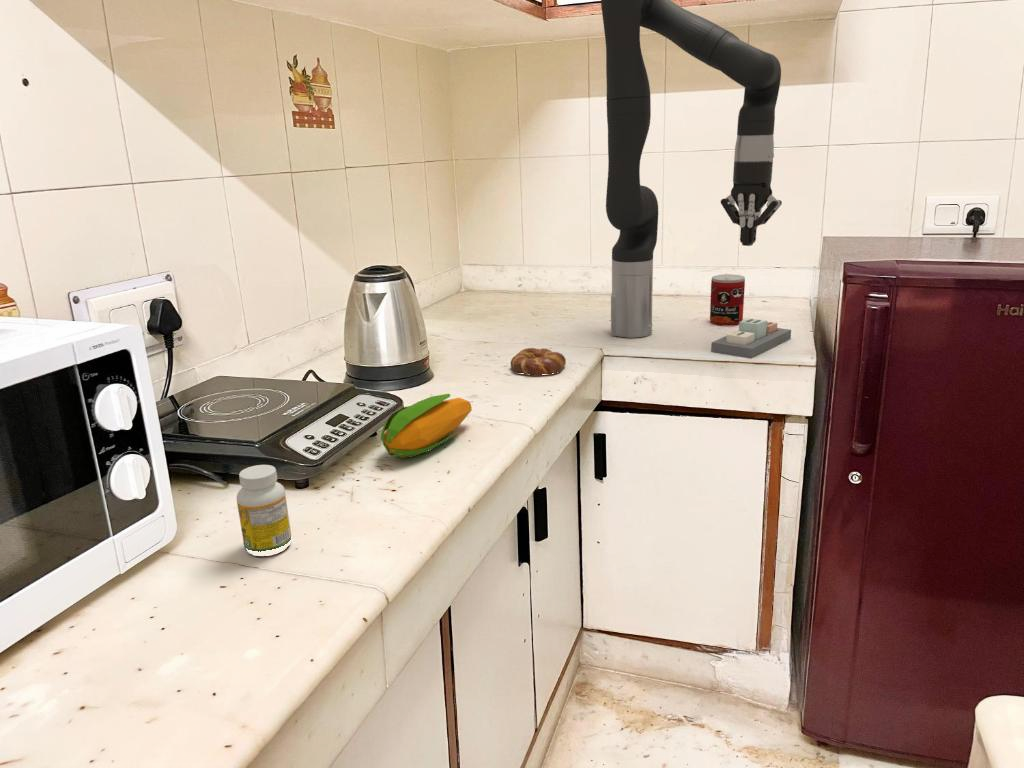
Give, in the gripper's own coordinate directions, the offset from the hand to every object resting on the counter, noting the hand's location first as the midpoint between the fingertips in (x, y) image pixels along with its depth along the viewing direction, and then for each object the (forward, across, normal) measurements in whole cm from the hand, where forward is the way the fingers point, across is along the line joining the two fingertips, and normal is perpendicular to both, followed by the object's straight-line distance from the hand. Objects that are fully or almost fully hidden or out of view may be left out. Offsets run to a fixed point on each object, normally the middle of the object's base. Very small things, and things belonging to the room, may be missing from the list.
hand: (747, 245), depth 160 cm
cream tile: (+21, +3, -6) cm, 22 cm away
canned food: (+22, -12, +15) cm, 29 cm away
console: (+21, +3, 0) cm, 21 cm away
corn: (+22, -10, -80) cm, 84 cm away
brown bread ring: (+22, -23, -41) cm, 52 cm away
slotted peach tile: (+21, +2, +5) cm, 22 cm away
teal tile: (+19, +3, 0) cm, 20 cm away
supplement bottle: (+22, 0, -113) cm, 115 cm away
